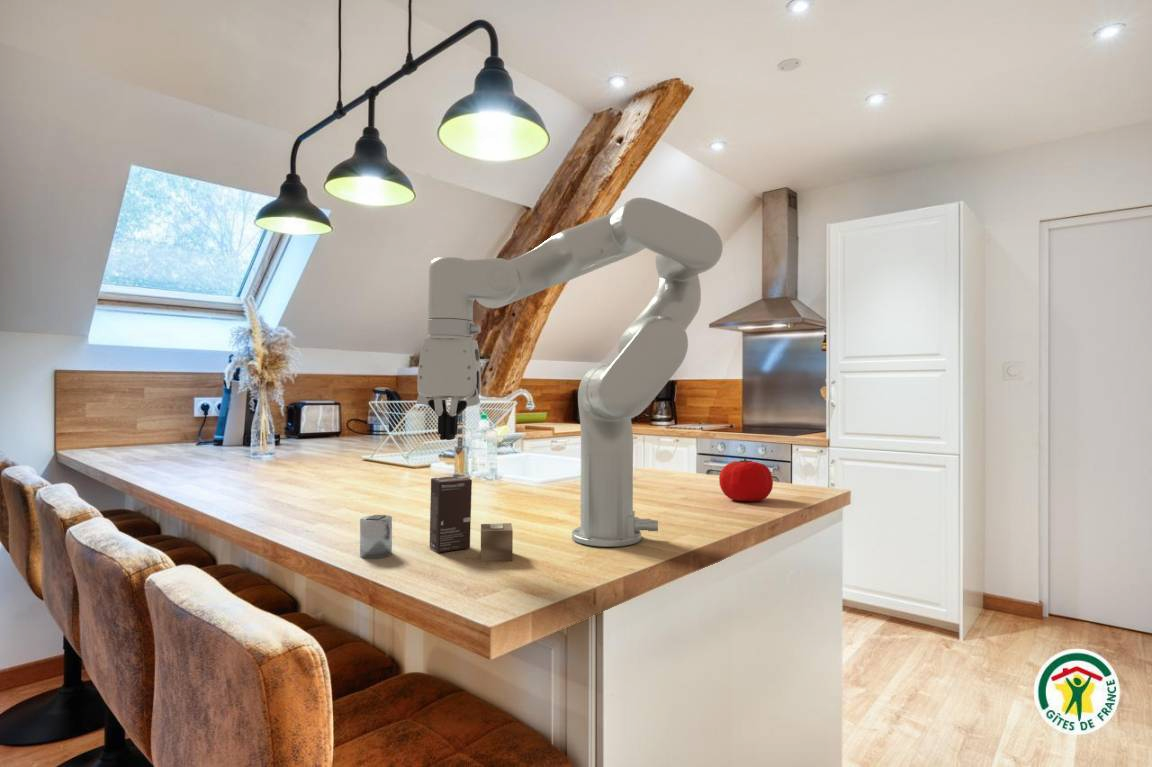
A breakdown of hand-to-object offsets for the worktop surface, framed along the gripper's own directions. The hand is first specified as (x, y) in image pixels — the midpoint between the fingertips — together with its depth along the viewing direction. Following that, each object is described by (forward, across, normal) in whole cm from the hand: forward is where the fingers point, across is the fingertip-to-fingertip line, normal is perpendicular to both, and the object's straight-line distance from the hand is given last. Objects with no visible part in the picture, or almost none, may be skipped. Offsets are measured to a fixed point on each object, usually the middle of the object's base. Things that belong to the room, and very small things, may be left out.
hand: (447, 439), depth 105 cm
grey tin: (+19, +10, +5) cm, 22 cm away
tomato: (+17, -58, -51) cm, 79 cm away
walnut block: (+19, -10, +4) cm, 21 cm away
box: (+19, -1, 0) cm, 19 cm away
